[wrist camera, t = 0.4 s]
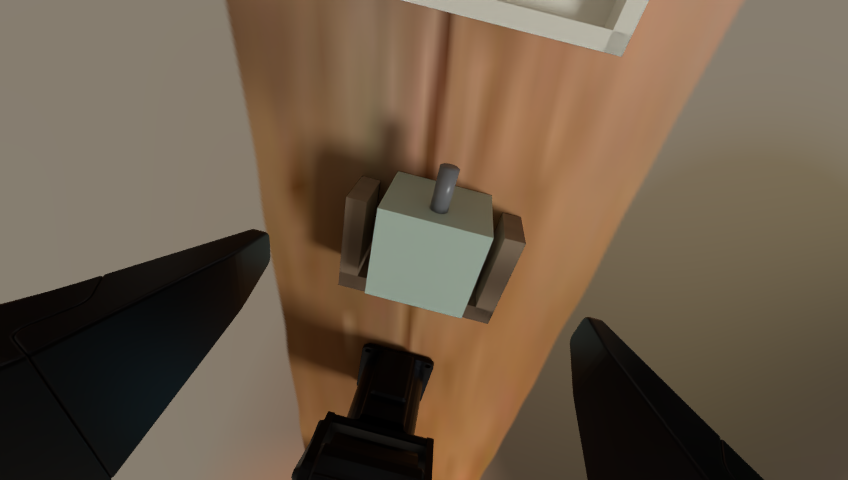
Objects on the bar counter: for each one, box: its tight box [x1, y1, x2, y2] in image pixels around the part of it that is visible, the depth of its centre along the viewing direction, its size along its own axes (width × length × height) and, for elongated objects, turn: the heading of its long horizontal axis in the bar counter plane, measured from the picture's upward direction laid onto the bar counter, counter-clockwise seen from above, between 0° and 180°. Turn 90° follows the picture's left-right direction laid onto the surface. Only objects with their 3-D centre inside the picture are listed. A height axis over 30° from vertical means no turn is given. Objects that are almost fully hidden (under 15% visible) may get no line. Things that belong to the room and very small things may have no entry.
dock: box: [339, 176, 526, 324], centre depth 22 cm, size 7×10×3 cm, turn 78°
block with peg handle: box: [365, 163, 494, 318], centre depth 20 cm, size 8×6×5 cm
